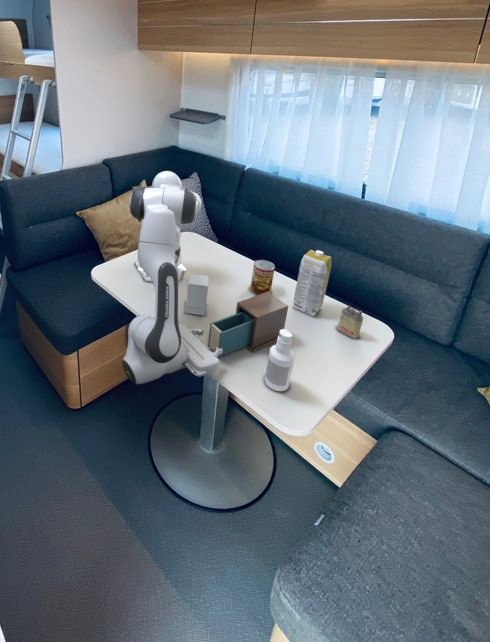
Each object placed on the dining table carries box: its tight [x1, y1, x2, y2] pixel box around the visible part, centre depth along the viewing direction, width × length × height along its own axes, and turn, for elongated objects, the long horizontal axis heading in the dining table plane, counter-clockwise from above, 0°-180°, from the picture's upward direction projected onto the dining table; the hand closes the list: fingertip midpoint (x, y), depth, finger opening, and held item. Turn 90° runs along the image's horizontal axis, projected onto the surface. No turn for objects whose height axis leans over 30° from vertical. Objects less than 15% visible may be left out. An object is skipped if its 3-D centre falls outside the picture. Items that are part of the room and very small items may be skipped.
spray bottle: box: [264, 328, 296, 392], centre depth 118 cm, size 7×7×18 cm
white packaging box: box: [184, 273, 209, 316], centre depth 151 cm, size 7×7×13 cm
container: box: [207, 311, 254, 358], centre depth 132 cm, size 6×14×9 cm, turn 118°
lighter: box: [336, 304, 364, 339], centre depth 141 cm, size 7×4×10 cm, turn 37°
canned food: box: [250, 259, 276, 296], centre depth 164 cm, size 8×8×12 cm
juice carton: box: [293, 249, 332, 317], centre depth 151 cm, size 9×8×24 cm
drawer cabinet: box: [235, 292, 289, 352], centre depth 138 cm, size 10×14×13 cm
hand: (211, 340), depth 128 cm, fingers open, 8 cm apart
